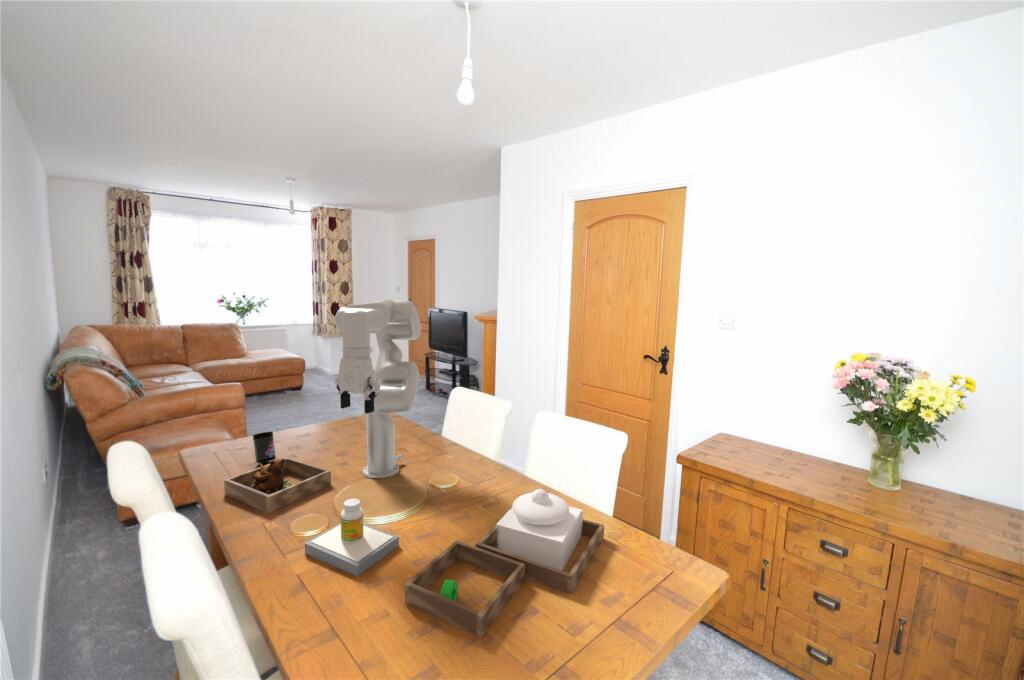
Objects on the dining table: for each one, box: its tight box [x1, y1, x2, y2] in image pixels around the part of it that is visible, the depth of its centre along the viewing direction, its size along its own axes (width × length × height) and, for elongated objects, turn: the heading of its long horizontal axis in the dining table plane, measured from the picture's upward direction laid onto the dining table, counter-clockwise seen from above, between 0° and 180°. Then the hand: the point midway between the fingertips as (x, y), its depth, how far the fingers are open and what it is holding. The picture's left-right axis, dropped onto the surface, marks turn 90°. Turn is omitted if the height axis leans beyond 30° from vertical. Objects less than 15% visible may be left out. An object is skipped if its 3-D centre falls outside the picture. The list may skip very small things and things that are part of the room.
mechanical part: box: [439, 578, 459, 601], centre depth 92 cm, size 12×6×8 cm, turn 167°
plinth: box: [304, 522, 400, 577], centre depth 113 cm, size 14×18×3 cm
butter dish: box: [495, 488, 584, 571], centre depth 117 cm, size 18×18×16 cm
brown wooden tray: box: [223, 456, 332, 514], centre depth 145 cm, size 22×22×5 cm
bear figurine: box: [249, 457, 293, 495], centre depth 143 cm, size 14×15×12 cm
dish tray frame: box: [475, 519, 605, 595], centre depth 115 cm, size 25×25×5 cm
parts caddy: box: [404, 539, 526, 638], centre depth 99 cm, size 19×19×5 cm
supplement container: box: [252, 431, 277, 465], centre depth 165 cm, size 7×7×10 cm
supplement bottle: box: [340, 498, 364, 544], centre depth 113 cm, size 5×5×10 cm
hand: (357, 409), depth 132 cm, fingers open, 9 cm apart
